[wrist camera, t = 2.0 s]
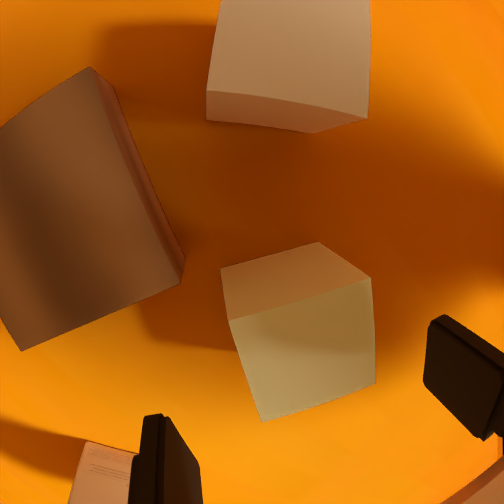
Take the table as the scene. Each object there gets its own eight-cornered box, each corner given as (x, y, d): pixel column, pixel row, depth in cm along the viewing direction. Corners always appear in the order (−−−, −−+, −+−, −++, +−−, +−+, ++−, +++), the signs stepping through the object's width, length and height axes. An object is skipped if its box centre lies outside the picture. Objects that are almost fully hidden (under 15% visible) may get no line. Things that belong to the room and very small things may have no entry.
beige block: (318, 241, 17) (370, 277, 11) (331, 325, 18) (375, 383, 13) (219, 268, 16) (227, 321, 11) (245, 351, 18) (261, 422, 12)
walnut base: (114, 88, 13) (89, 66, 9) (185, 256, 16) (180, 283, 12) (-15, 176, 13) (-55, 181, 9) (49, 319, 16) (21, 351, 12)
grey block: (319, 44, 14) (369, -3, 8) (311, 134, 15) (367, 118, 9) (220, 26, 13) (229, -36, 7) (205, 120, 14) (206, 90, 9)
